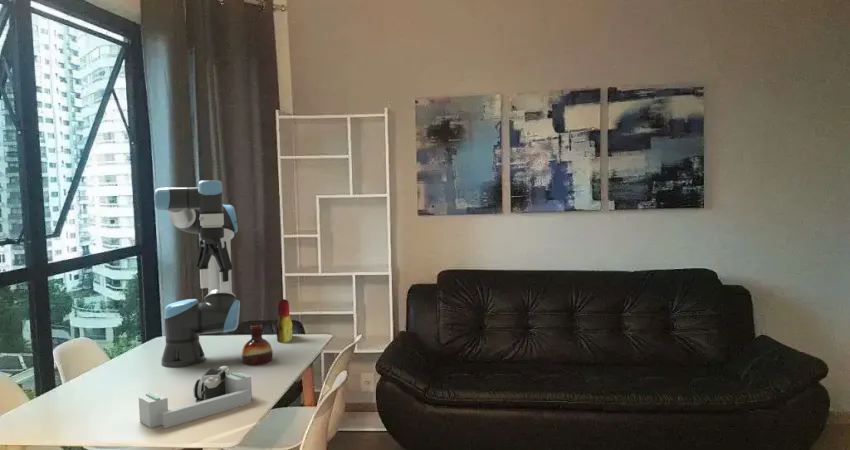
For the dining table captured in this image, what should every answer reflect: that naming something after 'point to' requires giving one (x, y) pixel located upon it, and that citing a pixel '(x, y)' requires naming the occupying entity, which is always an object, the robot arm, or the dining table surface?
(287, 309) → the bottle
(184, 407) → the rail mount
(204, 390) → the camera
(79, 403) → the dining table surface
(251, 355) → the vase
